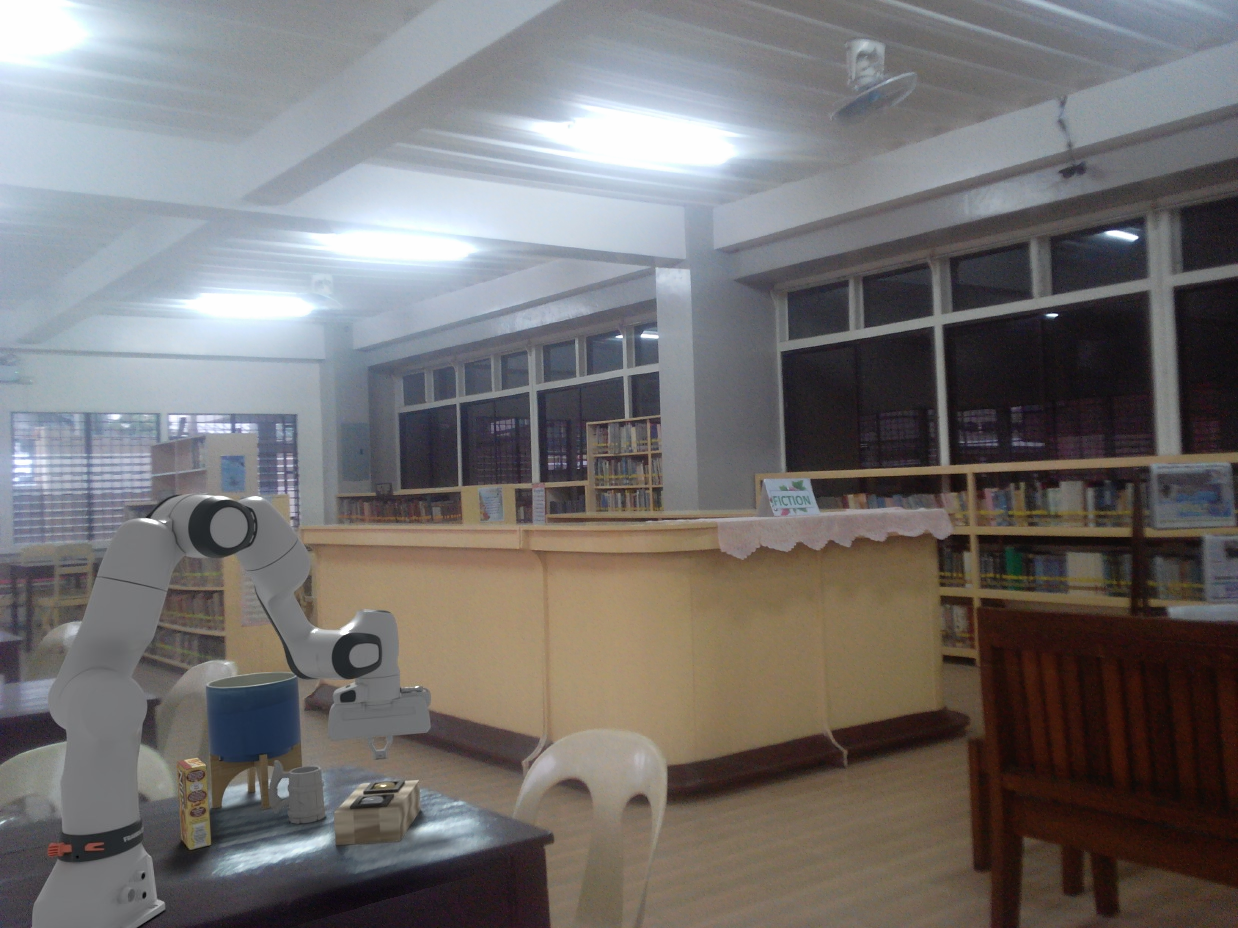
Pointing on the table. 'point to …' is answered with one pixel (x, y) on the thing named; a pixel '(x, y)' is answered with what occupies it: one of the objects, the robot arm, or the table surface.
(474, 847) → the table surface
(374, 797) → the peg
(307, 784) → the mug
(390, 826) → the socket block
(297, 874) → the table surface
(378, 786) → the peg
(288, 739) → the planter
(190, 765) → the candy box
